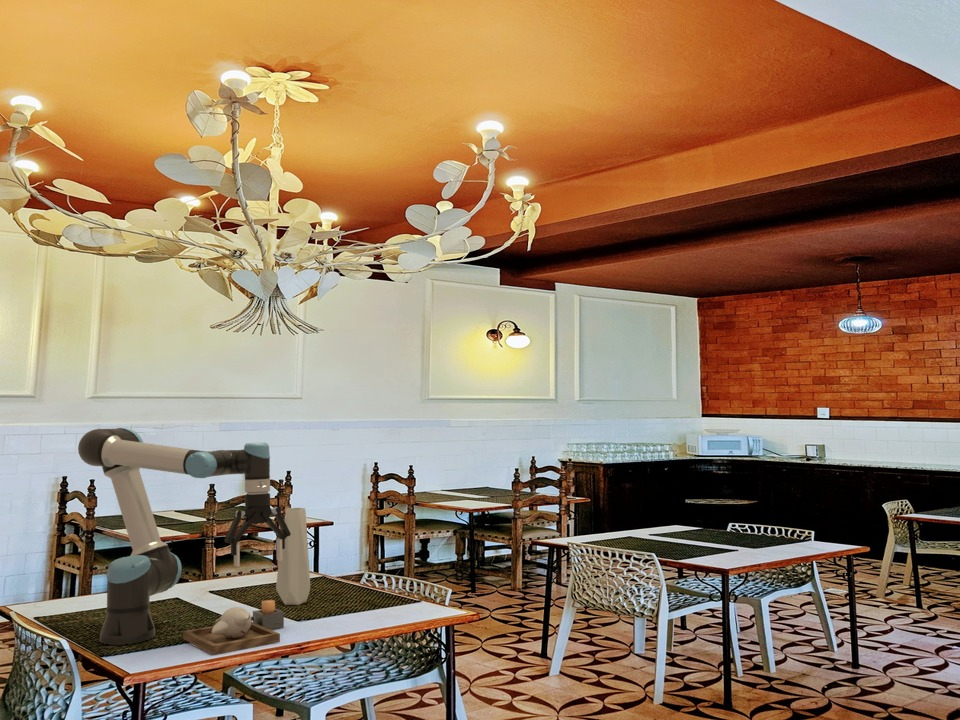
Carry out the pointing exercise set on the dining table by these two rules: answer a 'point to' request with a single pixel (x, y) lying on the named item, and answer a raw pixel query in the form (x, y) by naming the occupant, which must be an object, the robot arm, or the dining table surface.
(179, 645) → the dining table surface
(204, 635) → the tray
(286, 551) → the vase
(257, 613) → the housing
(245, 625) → the toy
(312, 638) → the dining table surface
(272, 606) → the orange block
